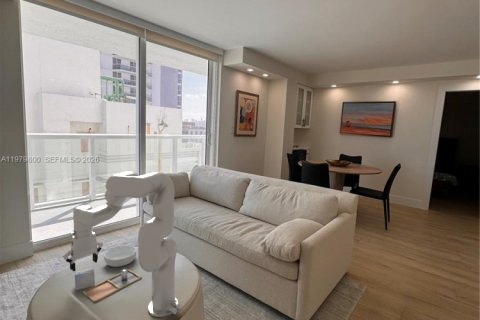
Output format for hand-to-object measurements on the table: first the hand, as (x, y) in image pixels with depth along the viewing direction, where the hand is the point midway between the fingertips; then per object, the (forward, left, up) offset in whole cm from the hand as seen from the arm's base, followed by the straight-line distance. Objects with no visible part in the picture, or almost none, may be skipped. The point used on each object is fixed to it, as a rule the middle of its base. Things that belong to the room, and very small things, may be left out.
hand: (84, 265), depth 120 cm
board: (-11, -8, -11) cm, 18 cm away
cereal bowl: (+7, -22, -12) cm, 26 cm away
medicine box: (0, 0, -12) cm, 12 cm away
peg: (-11, -14, -10) cm, 20 cm away
